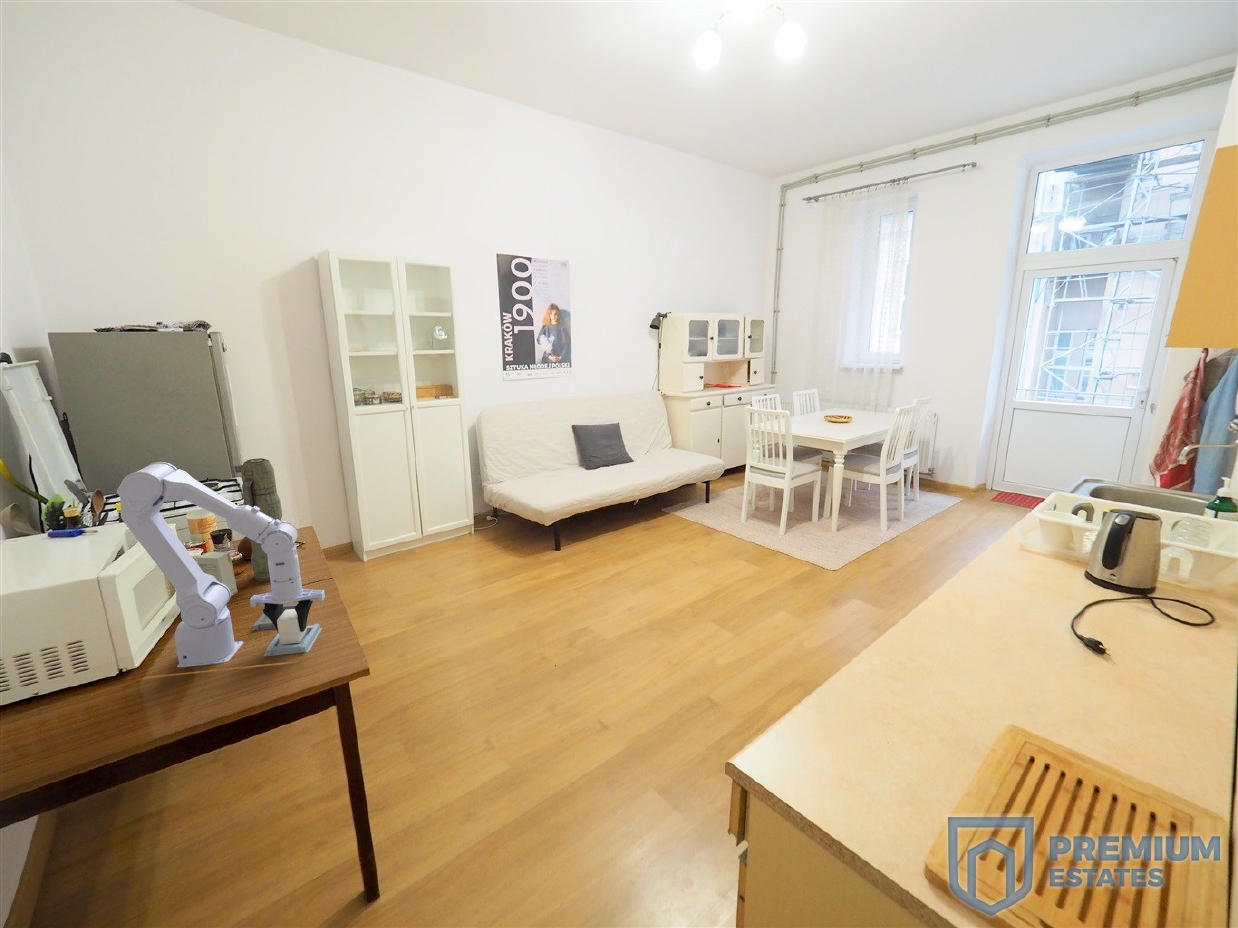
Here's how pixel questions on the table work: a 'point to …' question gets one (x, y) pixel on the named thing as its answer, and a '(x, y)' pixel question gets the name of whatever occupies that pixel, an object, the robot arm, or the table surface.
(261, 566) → the olive tall rounded block
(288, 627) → the white rectangular block
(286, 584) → the robot arm
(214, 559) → the skincare box
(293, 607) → the rear socket
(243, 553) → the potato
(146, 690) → the table surface
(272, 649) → the front socket
